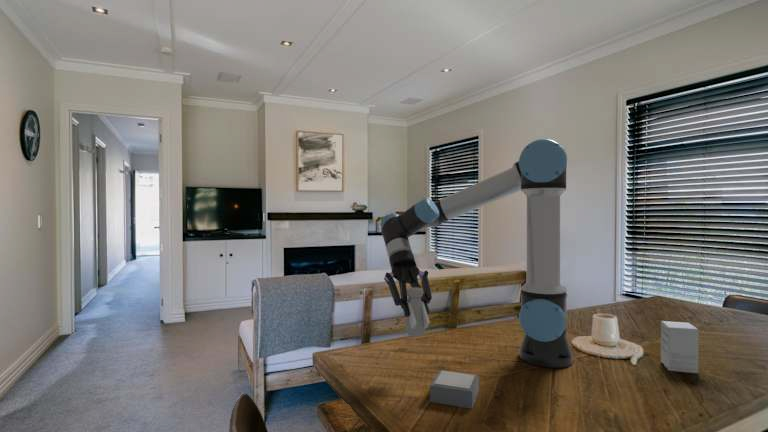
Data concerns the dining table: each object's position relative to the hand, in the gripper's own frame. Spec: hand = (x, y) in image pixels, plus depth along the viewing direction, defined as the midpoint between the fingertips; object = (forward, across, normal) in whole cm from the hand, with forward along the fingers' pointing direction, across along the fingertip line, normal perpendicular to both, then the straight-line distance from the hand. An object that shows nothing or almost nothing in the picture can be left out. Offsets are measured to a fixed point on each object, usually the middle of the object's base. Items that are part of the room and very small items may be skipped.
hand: (420, 325), depth 111 cm
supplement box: (+19, -75, -3) cm, 78 cm away
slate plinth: (+18, -5, -3) cm, 19 cm away
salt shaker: (0, 0, -6) cm, 6 cm away
